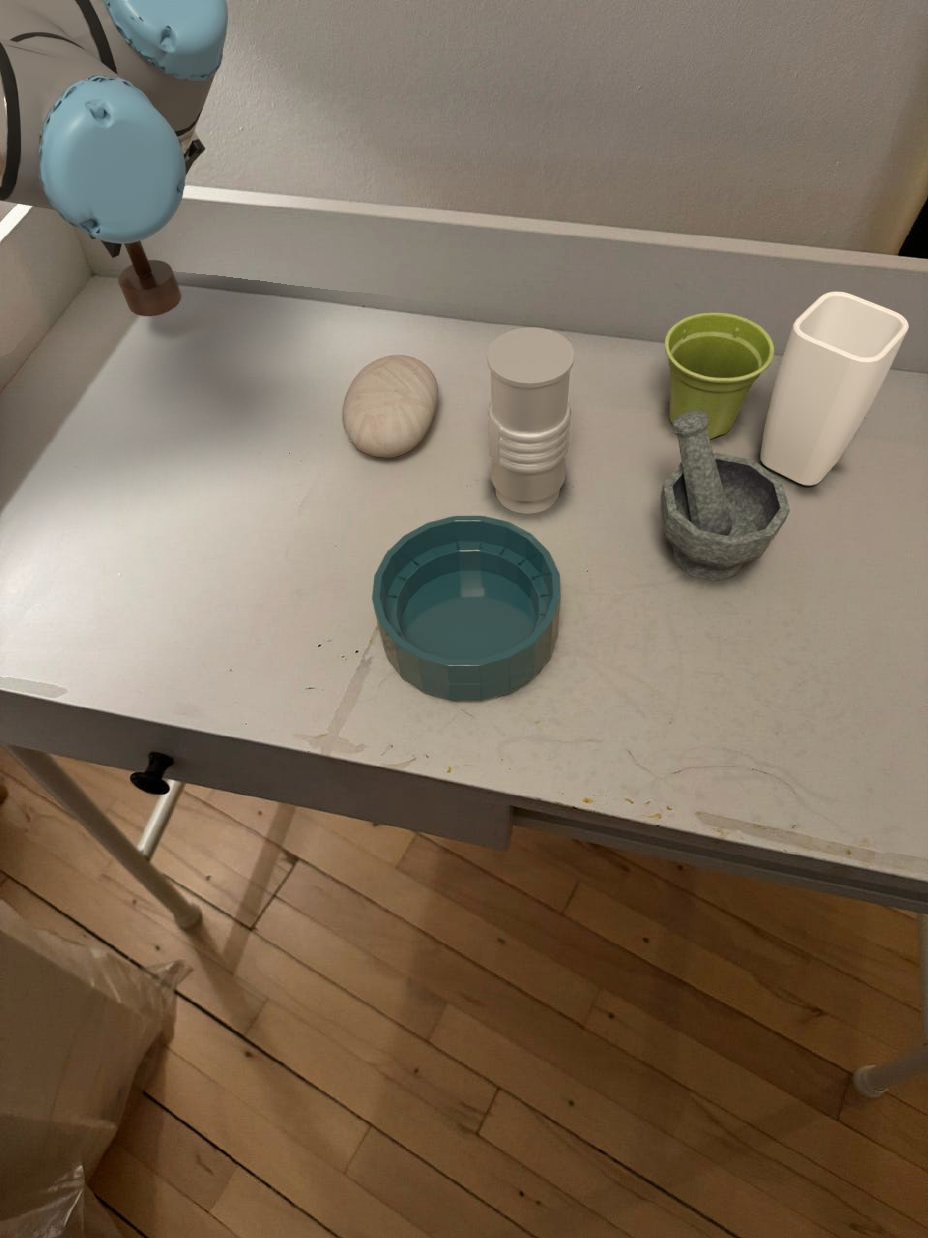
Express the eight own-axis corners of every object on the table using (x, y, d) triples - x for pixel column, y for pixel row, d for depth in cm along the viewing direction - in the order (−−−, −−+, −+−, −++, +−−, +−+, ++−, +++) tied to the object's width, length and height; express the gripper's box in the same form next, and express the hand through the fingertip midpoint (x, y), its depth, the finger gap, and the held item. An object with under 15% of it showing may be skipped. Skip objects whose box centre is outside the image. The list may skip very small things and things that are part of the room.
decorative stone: (369, 377, 86) (362, 337, 82) (453, 388, 85) (450, 347, 81) (330, 464, 79) (320, 424, 75) (420, 477, 78) (415, 437, 74)
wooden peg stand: (122, 317, 87) (58, 168, 74) (135, 285, 90) (76, 137, 78) (175, 316, 87) (119, 166, 74) (186, 284, 90) (135, 136, 77)
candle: (476, 479, 77) (469, 344, 65) (541, 453, 79) (546, 316, 67) (512, 528, 74) (512, 395, 61) (579, 500, 75) (592, 364, 63)
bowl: (375, 706, 64) (364, 666, 59) (389, 562, 72) (380, 516, 67) (560, 706, 63) (564, 665, 59) (553, 561, 72) (556, 514, 67)
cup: (853, 458, 77) (917, 319, 65) (813, 503, 74) (873, 366, 62) (782, 424, 80) (831, 285, 68) (741, 466, 77) (785, 328, 65)
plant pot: (743, 462, 77) (766, 388, 70) (642, 442, 79) (655, 368, 72) (757, 397, 82) (780, 321, 75) (662, 380, 84) (676, 304, 77)
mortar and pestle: (790, 561, 70) (836, 458, 60) (710, 616, 68) (744, 517, 58) (696, 485, 76) (723, 379, 66) (618, 532, 73) (634, 429, 63)
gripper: (90, 200, 63) (77, 304, 84) (249, 130, 69) (199, 244, 89) (26, 103, 61) (28, 234, 82) (194, 39, 66) (156, 177, 87)
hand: (117, 239), depth 86 cm, fingers closed on wooden peg stand, 2 cm apart
